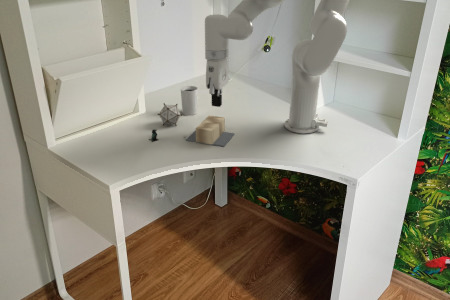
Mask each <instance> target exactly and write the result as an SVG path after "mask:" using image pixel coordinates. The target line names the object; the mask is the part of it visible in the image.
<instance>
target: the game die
mask: <svg viewBox="0 0 450 300" xmlns="http://www.w3.org/2000/svg"><path fill="white" fill-rule="evenodd" d="M157 116H159V117H160V118H161V119H160V120H161V121H162V122H163V124H162V126H165V124H166V125H174V126H175V127H177V126H178V125H177V123H178V121H179V119H180V118H181V116H183V113H180V111H179V108H178V103H176V104H175V105H174V104H165V102H163V107H162V109H161V111H160V112H159V113H157Z"/></svg>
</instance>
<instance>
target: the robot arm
mask: <svg viewBox="0 0 450 300" xmlns="http://www.w3.org/2000/svg"><path fill="white" fill-rule="evenodd" d="M284 2H285V0H242V1H240V2H239V3H238V5H236V7H235V8H234V9H233V10H232V11H230V13H229V14H228V16H226V15H224V14H209V15H206V17H204V18H205V19H204V55H205V57H204V59H205V60H206V65H205V66H206V67H205V68H206V69H205V87H206V89H209V91H208V92H209V94H210V95H211V106H213V107H217V108H221V106H222V105H223V101H222V100H223V95H222V94H223V88H224V87H225V86H227V85H228V84H229V63H228V62H229V61H228V59H229V40H235V41H243V40H247V39H249V38H250V37H251V36H252V34H253V31H254V26H253V22H254V21H255V20H256V19H257V18H258V17H259V16H260V15H261V14H263V13H264V12H265V11H267V10H269V9H273V8H276V7H278V6H280V5H281V4H282V3H284ZM349 3H350V0H320V1H319V3H318V5H317V7H316V10H315V11H314V14H313V16H312V17H311V19H310V21H309V25H308V27H309V31H310V33H311V35H313V38H312V39H308V38H305V39H303V40H300V41H299V42H297V43H296V45H294V48H293V49H292V55H291V56H292V57H291V59H292V60H291V62H292V65H291V66H292V75H291V76H292V77H291V89H290V90H291V91H290V102H289V116H288V119H286V120H285V121H284V123H283V124H284V128H285V129H287V131H290V132H293V133H295V134H296V133H297V134H311V133H315V132H317V131H318V130H319V128H320V127H324V128H328V122H329V121H326V119H323V118H319V117H318V116H319V115H318V113H317V109H318V101H319V100H318V99H319V89H320V82H321V81H320V80H321V75H324V74H326V72H327V71H328V70H329V68H330V67H331V66H332V63H333V62H334V61H335V58H336V56H338V55H337V54H338V52H340V51H339V50H340V49H341V48H342V45H343V43H344V42H345V39H346V36H347V32H348V24H347V22H346V19H344V17H343V16H344V13H345V12H346V10H347V7H348V6H349Z"/></svg>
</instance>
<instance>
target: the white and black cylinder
mask: <svg viewBox="0 0 450 300" xmlns="http://www.w3.org/2000/svg"><path fill="white" fill-rule="evenodd" d="M198 96H199V88H198V87H197V86H194V85H184V86H182V87H180V98H181V107H182V108H181V110H182V115H184V116H194V115H197V114H198V101H199V99H198V98H199V97H198Z"/></svg>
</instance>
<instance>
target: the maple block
mask: <svg viewBox="0 0 450 300" xmlns="http://www.w3.org/2000/svg"><path fill="white" fill-rule="evenodd" d="M225 123H226V118H225V117H223V116H217V115H215V116H214V115H209V114H208V115H207V117H206V118H205V119H203V120H202V121H201V122H200V123H199V124H198V126H196V128H195V130H196V142H195V143H198V142H201V143H200V144H204V143H207V144H206V145H210V144H213V143H214V142H215V141H216V140H217V139H218V138H219V136H220V135H221V134H222V133H223V132H226V131H225V130H226V124H225Z"/></svg>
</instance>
